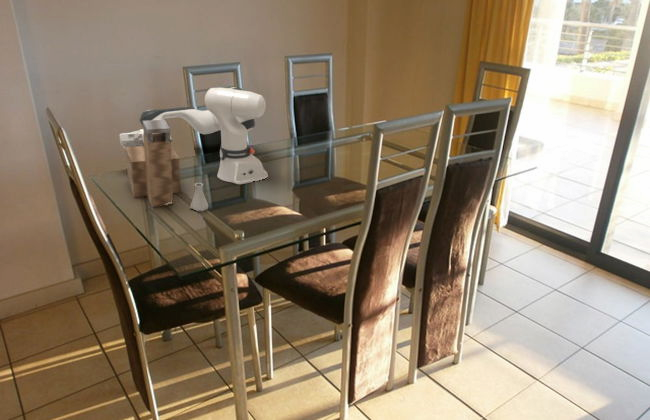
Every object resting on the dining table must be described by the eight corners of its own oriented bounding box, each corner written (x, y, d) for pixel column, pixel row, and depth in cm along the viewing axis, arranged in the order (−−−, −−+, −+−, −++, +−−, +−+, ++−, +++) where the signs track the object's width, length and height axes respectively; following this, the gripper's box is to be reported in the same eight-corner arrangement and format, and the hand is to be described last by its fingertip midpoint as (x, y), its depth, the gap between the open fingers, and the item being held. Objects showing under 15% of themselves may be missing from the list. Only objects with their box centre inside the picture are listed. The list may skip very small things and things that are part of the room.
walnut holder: (172, 177, 223) (169, 107, 209) (185, 203, 203) (184, 127, 189) (128, 181, 215) (122, 108, 201) (137, 208, 195) (132, 130, 181)
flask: (203, 213, 197) (203, 189, 193) (186, 209, 198) (185, 186, 194) (211, 205, 203) (211, 182, 199) (194, 202, 204) (194, 179, 200)
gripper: (168, 145, 230) (173, 140, 218) (119, 148, 221) (121, 143, 209) (166, 131, 230) (171, 125, 218) (117, 134, 221) (119, 127, 209)
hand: (146, 134), depth 213 cm, fingers closed on gauge bar, 4 cm apart
